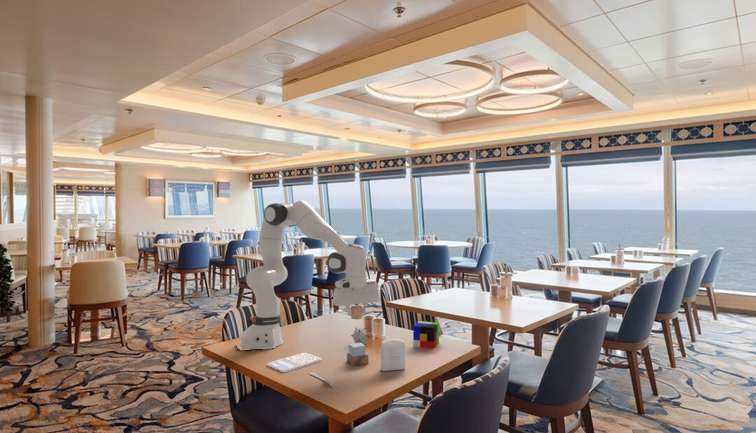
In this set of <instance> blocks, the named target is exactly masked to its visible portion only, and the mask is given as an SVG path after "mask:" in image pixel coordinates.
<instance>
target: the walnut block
mask: <svg viewBox="0 0 756 433" xmlns="http://www.w3.org/2000/svg"><path fill="white" fill-rule="evenodd" d="M346 361H347V363H348V364H350V365H351V366H352V367H357V366H362V365H368V364H369V354H368V353H366V355H363V356H357V357H353V356H352V355H350V354H349V352H347V353H346Z"/></svg>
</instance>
